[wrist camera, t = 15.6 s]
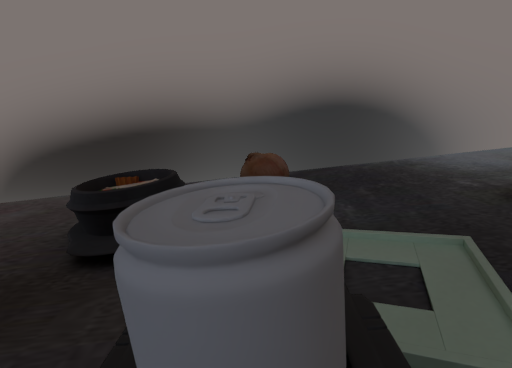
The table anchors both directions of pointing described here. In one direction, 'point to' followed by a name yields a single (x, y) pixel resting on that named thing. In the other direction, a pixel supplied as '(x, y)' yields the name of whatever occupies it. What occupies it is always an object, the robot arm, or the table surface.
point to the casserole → (111, 206)
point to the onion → (264, 165)
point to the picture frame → (442, 299)
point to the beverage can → (233, 275)
